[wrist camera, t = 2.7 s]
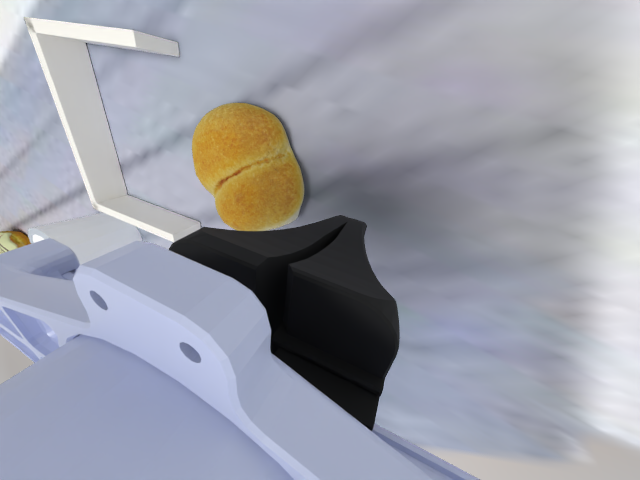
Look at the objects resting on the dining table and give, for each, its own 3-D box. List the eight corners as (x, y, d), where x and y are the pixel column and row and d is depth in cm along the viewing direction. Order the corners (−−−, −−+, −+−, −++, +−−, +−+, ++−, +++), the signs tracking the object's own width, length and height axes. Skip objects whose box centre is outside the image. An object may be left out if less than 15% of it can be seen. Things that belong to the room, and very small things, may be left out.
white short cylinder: (132, 261, 32) (67, 293, 27) (98, 216, 31) (20, 240, 25) (155, 248, 29) (85, 281, 23) (117, 195, 27) (32, 217, 21)
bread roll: (269, 79, 15) (225, 70, 12) (324, 208, 18) (299, 229, 15) (195, 135, 20) (147, 140, 16) (247, 233, 22) (215, 254, 19)
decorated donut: (60, 266, 44) (31, 278, 41) (50, 282, 50) (25, 293, 47) (16, 218, 42) (-17, 226, 39) (12, 240, 48) (-17, 249, 45)
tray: (200, 229, 24) (174, 242, 21) (124, 199, 27) (93, 208, 24) (177, 42, 16) (133, 30, 14) (75, 29, 19) (23, 16, 17)
